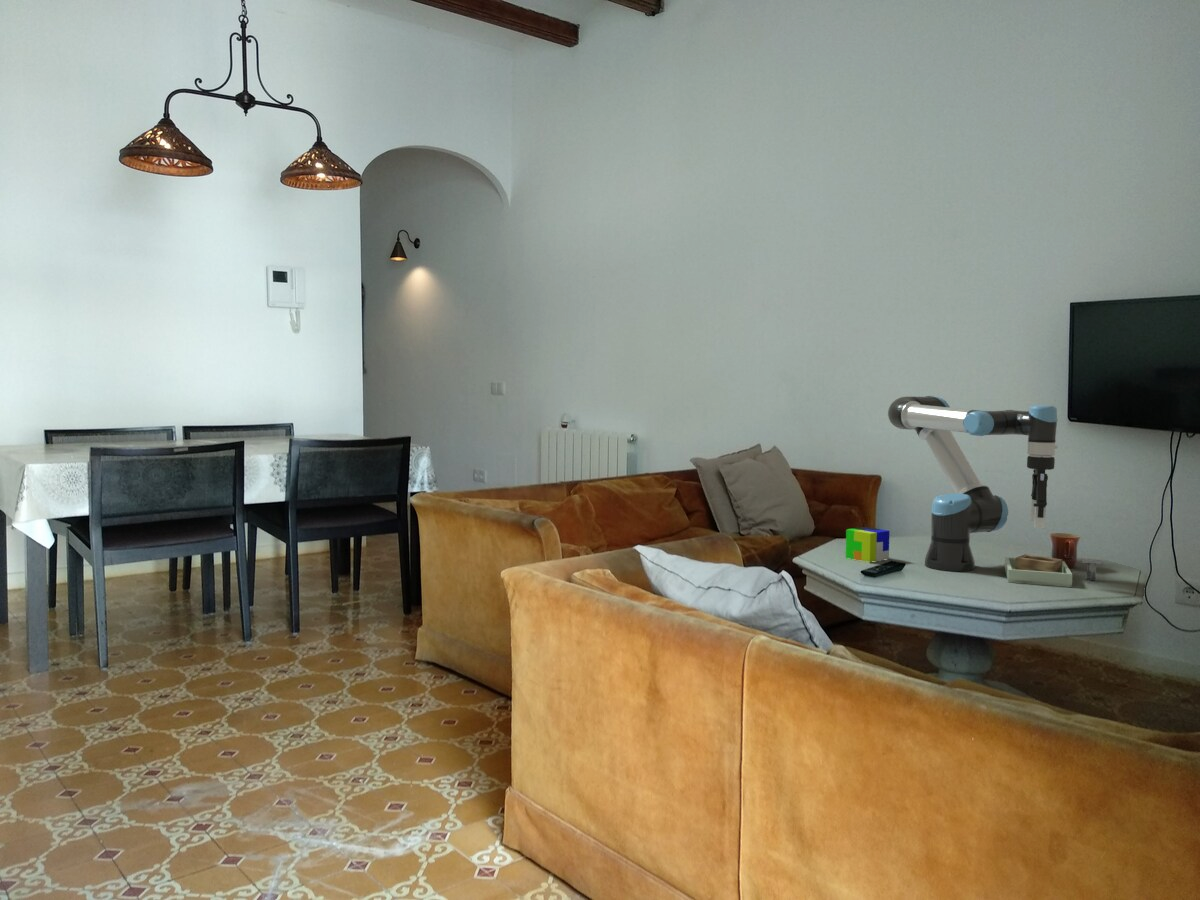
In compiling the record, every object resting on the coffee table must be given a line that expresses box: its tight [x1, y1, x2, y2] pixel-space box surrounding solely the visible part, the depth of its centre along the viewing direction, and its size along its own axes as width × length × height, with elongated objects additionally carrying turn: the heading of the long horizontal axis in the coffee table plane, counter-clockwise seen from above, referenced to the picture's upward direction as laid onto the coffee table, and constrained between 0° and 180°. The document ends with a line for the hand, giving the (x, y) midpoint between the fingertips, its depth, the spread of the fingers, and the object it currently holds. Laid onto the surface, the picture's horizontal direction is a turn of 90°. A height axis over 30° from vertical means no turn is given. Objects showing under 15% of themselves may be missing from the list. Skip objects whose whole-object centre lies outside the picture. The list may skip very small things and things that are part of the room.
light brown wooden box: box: [1015, 554, 1062, 573], centre depth 267 cm, size 11×8×5 cm
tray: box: [1004, 556, 1073, 588], centre depth 267 cm, size 17×20×4 cm
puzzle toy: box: [845, 526, 890, 562], centre depth 295 cm, size 10×10×10 cm
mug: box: [1049, 532, 1081, 569], centre depth 281 cm, size 12×9×10 cm
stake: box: [1080, 557, 1103, 582], centre depth 263 cm, size 5×2×7 cm, turn 68°
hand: (1037, 524), depth 267 cm, fingers open, 13 cm apart
